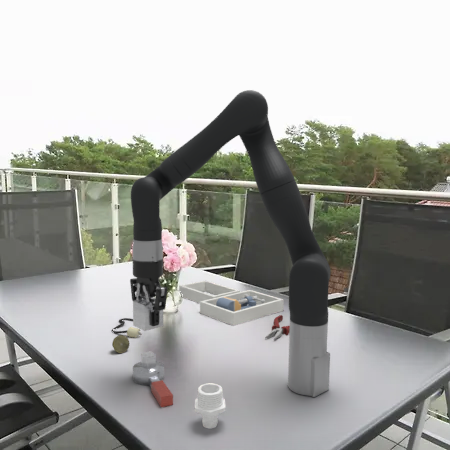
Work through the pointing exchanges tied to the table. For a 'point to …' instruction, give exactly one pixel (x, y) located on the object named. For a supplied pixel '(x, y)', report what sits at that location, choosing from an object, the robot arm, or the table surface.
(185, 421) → the table surface
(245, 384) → the table surface
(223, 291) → the grey tray
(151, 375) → the ratchet
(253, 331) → the table surface
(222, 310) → the white tray
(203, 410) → the pipe fitting
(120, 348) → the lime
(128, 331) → the cable
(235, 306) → the vise
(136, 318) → the pale grey cube
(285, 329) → the pliers
